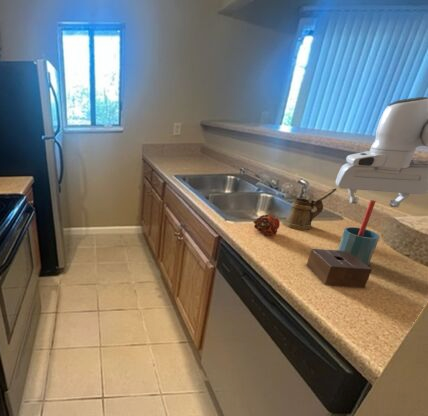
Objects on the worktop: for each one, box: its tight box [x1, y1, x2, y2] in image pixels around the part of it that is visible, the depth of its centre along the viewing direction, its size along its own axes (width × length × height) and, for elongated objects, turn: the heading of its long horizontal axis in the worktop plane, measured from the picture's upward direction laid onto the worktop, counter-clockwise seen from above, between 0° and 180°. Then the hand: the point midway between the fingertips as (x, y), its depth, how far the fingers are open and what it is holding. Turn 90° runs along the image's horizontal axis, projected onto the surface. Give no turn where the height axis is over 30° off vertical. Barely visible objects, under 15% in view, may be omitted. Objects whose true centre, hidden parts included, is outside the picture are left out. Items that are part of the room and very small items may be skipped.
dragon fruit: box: [253, 213, 280, 236], centre depth 108 cm, size 8×8×12 cm
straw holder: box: [306, 248, 373, 288], centre depth 81 cm, size 10×10×6 cm
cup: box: [337, 226, 380, 267], centre depth 88 cm, size 8×8×10 cm
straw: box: [358, 199, 377, 237], centre depth 86 cm, size 1×1×20 cm
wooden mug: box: [283, 187, 338, 231], centre depth 110 cm, size 9×14×18 cm, turn 47°
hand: (372, 204), depth 83 cm, fingers open, 8 cm apart
